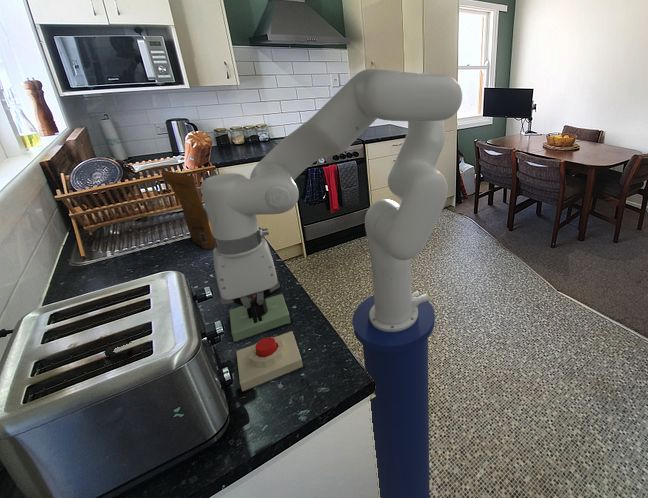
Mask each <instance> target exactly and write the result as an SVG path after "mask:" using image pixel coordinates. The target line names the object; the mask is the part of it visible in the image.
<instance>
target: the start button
mask: <svg viewBox="0 0 648 498" xmlns="http://www.w3.org/2000/svg"><path fill="white" fill-rule="evenodd" d="M272 337H273V336H270V337H269V336H268V337H264V338H261V339H260V340H258V342H256V343H257V344H256V343H255V344H256V351H257V355H258V356H260V357H267V356H270V355H271V354H273V353H274V352H275V351H276V349H277V345H276V341H275V339H274V338H272Z"/></svg>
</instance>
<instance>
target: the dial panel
mask: <svg viewBox="0 0 648 498" xmlns="http://www.w3.org/2000/svg"><path fill="white" fill-rule="evenodd" d="M266 303H267V307H268V312H267V313H266V314H265V315H263V316H262V321H258V322H257V323H254V321H253V318H250V319H249V317H248V313H247V309H246V308H244V306H242V305H240V306H238V307H235V308H232V309H229V310H228V312H229V322H230V331H231V332H230V333H231V336H232V339H233V342H238V341H241V340H244V339H246V338H249V337H252V336H255V335H258V334H261V333H264V332H267V331H269V330H272V329H276V328H278V327H281V326H284V325H287V324H289V323H291V316H290V313H289V310H288V307H287V304H286V301H285V298H284V295H283V293H280V294H276V295H274V296H270V297H266ZM257 320H258V318H257Z"/></svg>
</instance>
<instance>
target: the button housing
mask: <svg viewBox="0 0 648 498" xmlns="http://www.w3.org/2000/svg"><path fill="white" fill-rule="evenodd" d="M271 337H272V338H274V339H275V341H276V345H277V349H276V351H275V352H274V353H273V354H271V355H270V356H267V357H260V356H258V355H257V351H256V344H257V343H258V342H256V343H255V344H252V345H249V346H247V347H243V348H241V349H238V350H236V351H235V353H236V361H237V368H238V369H237V371H238V378H239V385H240V389H241V392H245V391H247V390H250V389H253V388H255V387H257V386H260V385H262V384H264V383H267V382H269V381H271V380H274V379H276V378H279V377H281V376H283V375H286V374H288V373H291V372H294V371H295V370H296V371H297V370H299V369H300V368H303V367H304V363H303V360H302V356H301V354H300V350H299V347H298V344H297V341H296V338H295V335H294V332H293V331H292V330H291V331H288V332H285V333H283V334H279V335H277V336H271Z"/></svg>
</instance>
